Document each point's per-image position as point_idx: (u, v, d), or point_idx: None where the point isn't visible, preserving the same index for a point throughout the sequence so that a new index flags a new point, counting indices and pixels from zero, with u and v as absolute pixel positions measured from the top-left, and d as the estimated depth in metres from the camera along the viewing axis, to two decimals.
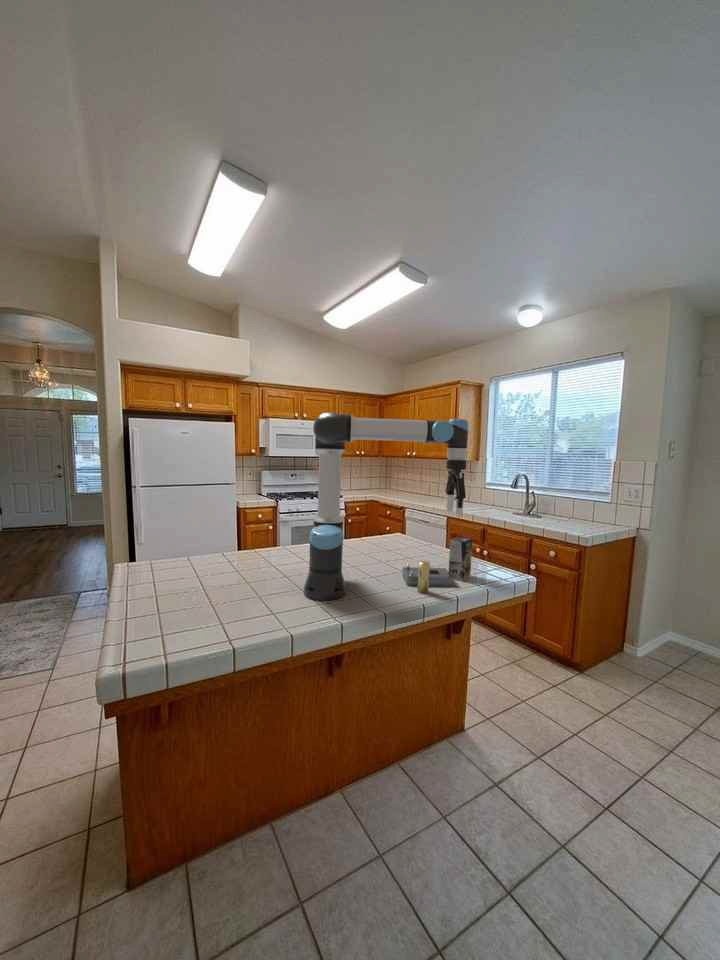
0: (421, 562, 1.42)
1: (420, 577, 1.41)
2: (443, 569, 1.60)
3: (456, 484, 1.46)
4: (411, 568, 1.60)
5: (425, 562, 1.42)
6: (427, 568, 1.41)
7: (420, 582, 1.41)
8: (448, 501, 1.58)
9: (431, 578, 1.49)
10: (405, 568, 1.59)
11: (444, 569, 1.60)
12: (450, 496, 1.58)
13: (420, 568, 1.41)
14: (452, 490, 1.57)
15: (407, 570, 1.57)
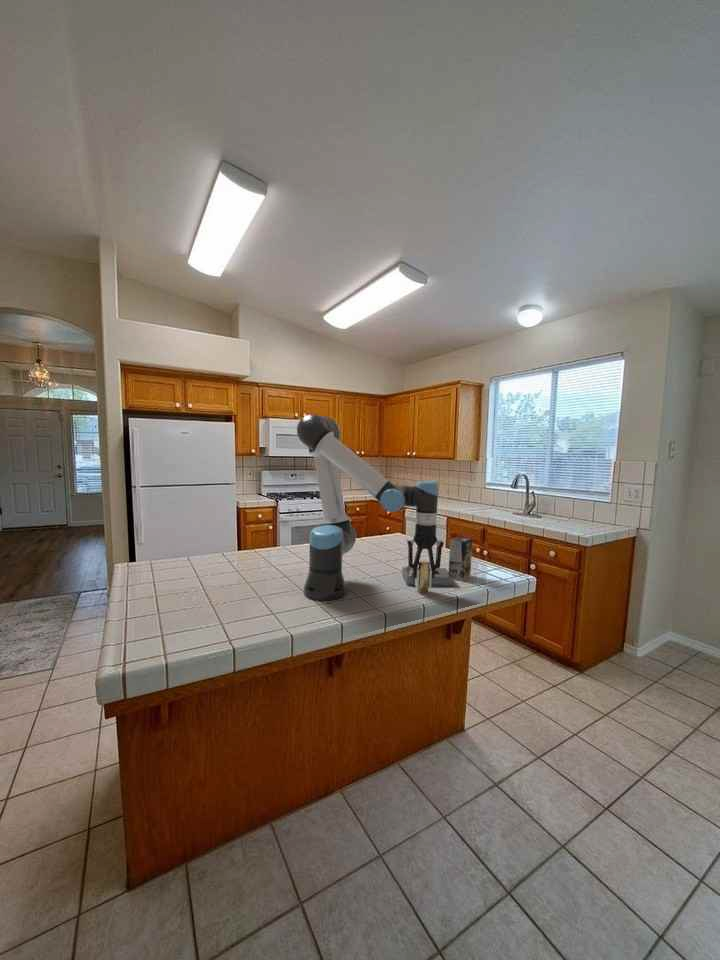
0: (421, 562, 1.42)
1: (420, 577, 1.41)
2: (443, 569, 1.60)
3: None
4: (411, 568, 1.60)
5: (425, 562, 1.42)
6: (427, 568, 1.41)
7: (420, 582, 1.41)
8: None
9: None
10: (405, 568, 1.59)
11: (444, 569, 1.60)
12: (429, 570, 1.43)
13: (420, 568, 1.41)
14: (430, 562, 1.42)
15: (407, 570, 1.57)
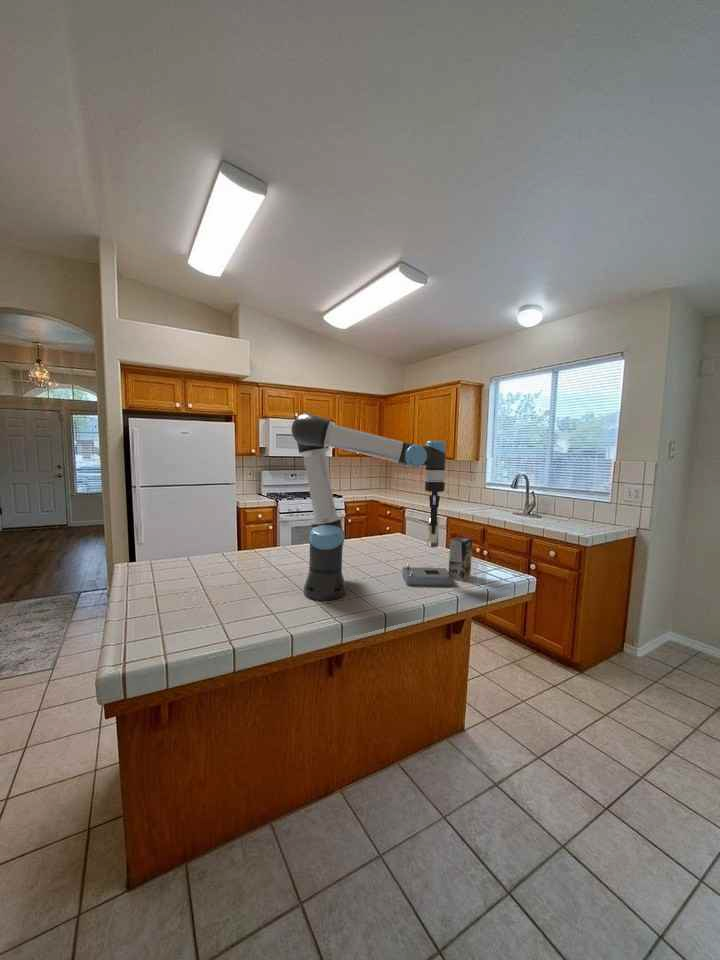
0: None
1: None
2: (443, 569, 1.60)
3: None
4: (411, 568, 1.60)
5: None
6: None
7: (437, 536, 1.49)
8: None
9: (431, 578, 1.49)
10: (405, 568, 1.59)
11: (444, 569, 1.60)
12: None
13: None
14: None
15: (407, 570, 1.57)
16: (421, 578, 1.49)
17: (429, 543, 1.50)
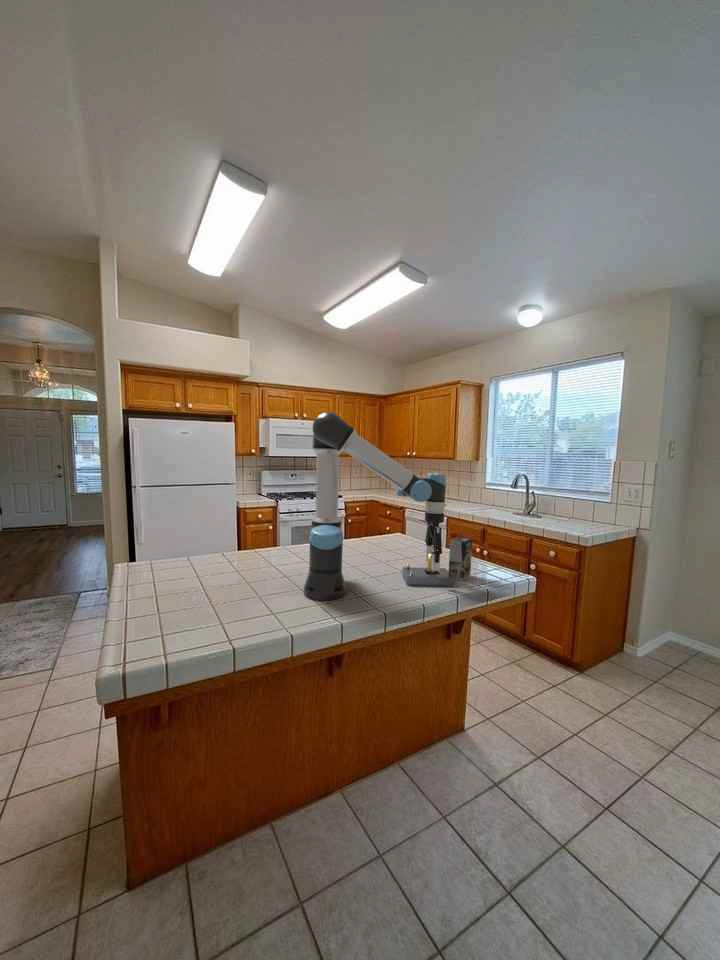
0: None
1: None
2: (443, 569, 1.60)
3: (434, 538, 1.50)
4: (411, 568, 1.60)
5: None
6: None
7: (436, 572, 1.54)
8: (427, 552, 1.61)
9: (431, 578, 1.49)
10: (405, 568, 1.59)
11: (444, 569, 1.60)
12: (429, 547, 1.61)
13: None
14: (431, 541, 1.60)
15: (407, 570, 1.57)
16: (421, 578, 1.49)
17: None
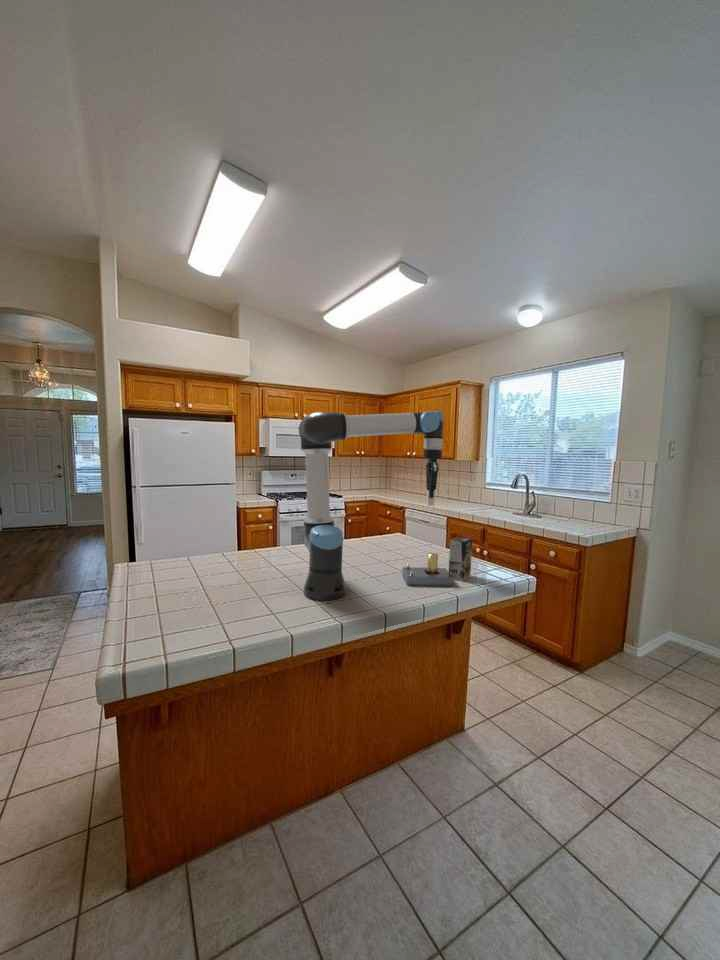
0: (433, 554, 1.54)
1: (436, 567, 1.54)
2: (443, 569, 1.60)
3: (430, 475, 1.59)
4: (411, 568, 1.60)
5: (432, 553, 1.55)
6: None
7: (436, 572, 1.54)
8: None
9: (431, 578, 1.49)
10: (405, 568, 1.59)
11: (444, 569, 1.60)
12: None
13: (436, 559, 1.54)
14: None
15: (407, 570, 1.57)
16: (421, 578, 1.49)
17: None
